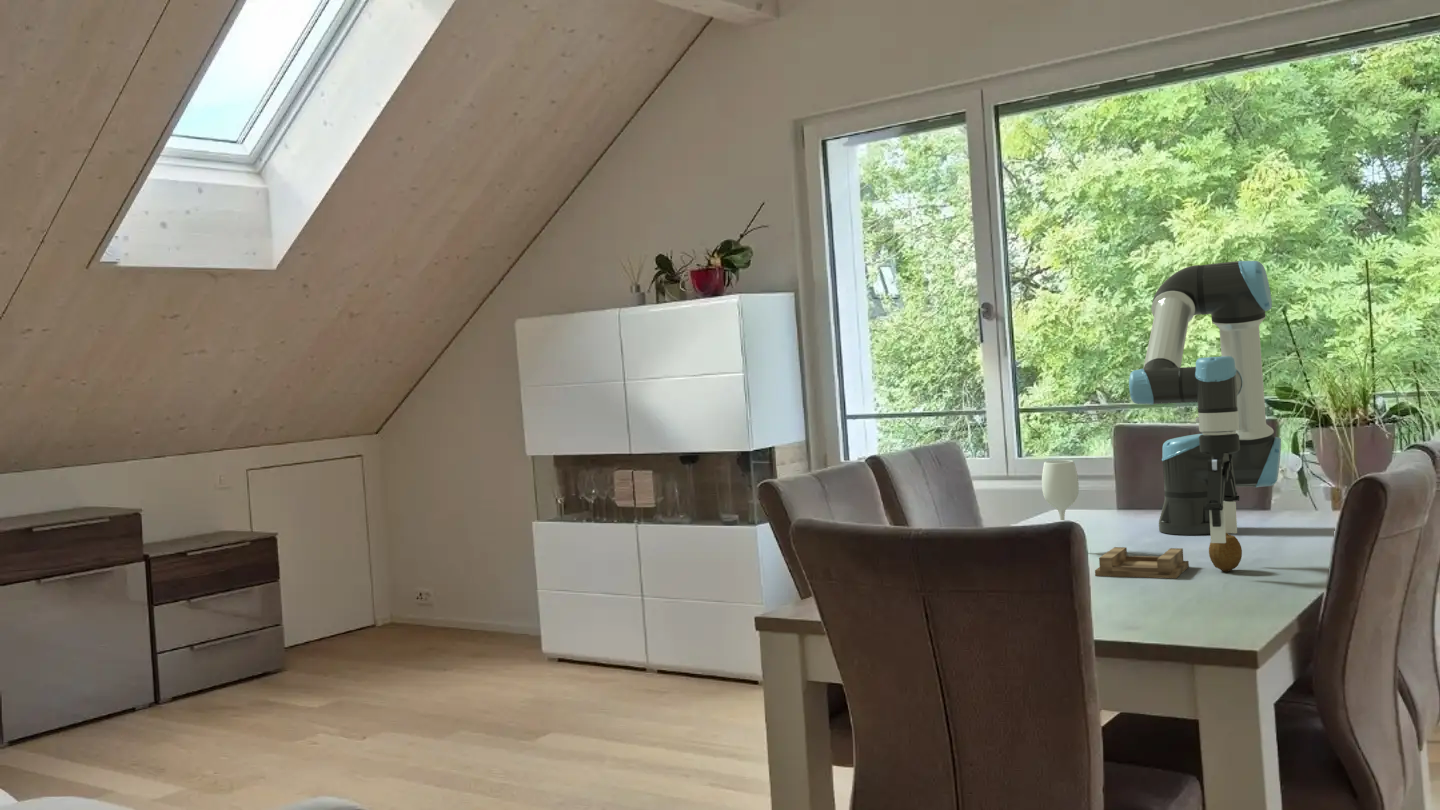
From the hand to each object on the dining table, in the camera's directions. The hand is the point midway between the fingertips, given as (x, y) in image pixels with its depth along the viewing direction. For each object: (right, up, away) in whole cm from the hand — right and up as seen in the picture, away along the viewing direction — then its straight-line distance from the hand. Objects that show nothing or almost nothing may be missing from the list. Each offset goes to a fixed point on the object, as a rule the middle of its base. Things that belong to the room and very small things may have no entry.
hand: (1224, 538), depth 252 cm
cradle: (-14, -8, +7) cm, 18 cm away
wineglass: (-23, -7, +36) cm, 43 cm away
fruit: (+1, -7, +1) cm, 7 cm away
